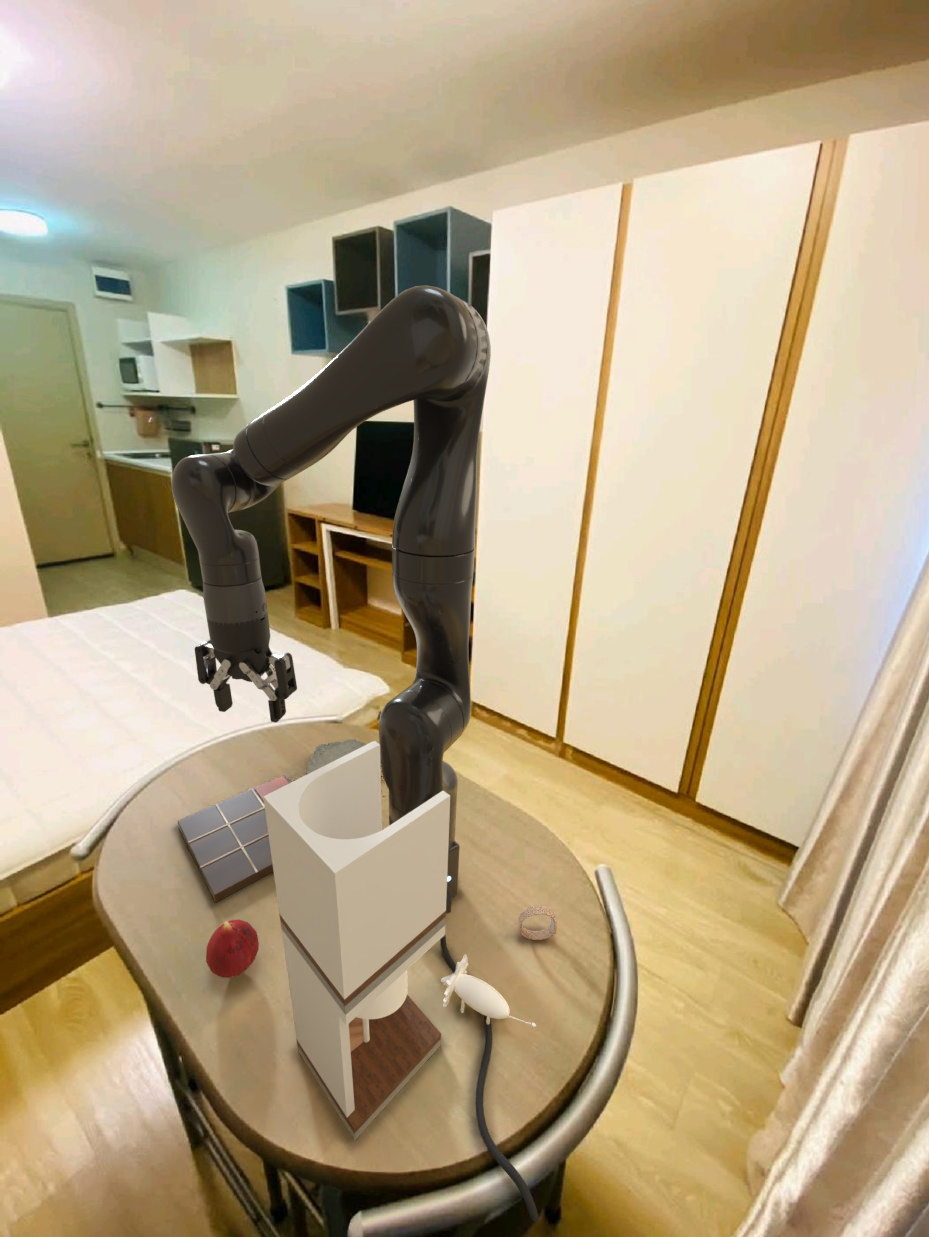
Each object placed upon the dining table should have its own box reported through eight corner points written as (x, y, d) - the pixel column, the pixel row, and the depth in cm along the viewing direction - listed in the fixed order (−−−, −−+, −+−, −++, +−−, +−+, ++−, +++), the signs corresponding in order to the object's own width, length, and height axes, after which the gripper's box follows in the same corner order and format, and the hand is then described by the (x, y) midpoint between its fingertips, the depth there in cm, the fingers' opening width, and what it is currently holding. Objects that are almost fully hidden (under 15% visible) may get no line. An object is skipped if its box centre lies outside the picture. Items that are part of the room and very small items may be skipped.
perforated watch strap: (554, 945, 69) (558, 918, 67) (518, 944, 69) (521, 918, 67) (551, 926, 71) (554, 900, 69) (516, 925, 71) (519, 899, 69)
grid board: (332, 839, 84) (331, 831, 83) (215, 903, 73) (213, 894, 72) (284, 781, 96) (283, 773, 95) (178, 827, 85) (176, 819, 84)
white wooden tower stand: (355, 1140, 50) (335, 873, 37) (297, 1050, 57) (263, 796, 43) (440, 1045, 58) (450, 795, 44) (381, 975, 64) (374, 740, 51)
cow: (430, 1007, 61) (431, 981, 59) (454, 969, 65) (455, 943, 64) (523, 1071, 56) (527, 1044, 54) (542, 1025, 60) (547, 998, 58)
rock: (282, 776, 97) (280, 755, 95) (349, 739, 109) (349, 720, 107) (322, 806, 90) (321, 784, 89) (389, 763, 102) (389, 743, 101)
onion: (267, 945, 67) (260, 901, 64) (252, 992, 62) (244, 946, 59) (221, 946, 67) (212, 901, 64) (202, 992, 62) (191, 947, 59)
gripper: (170, 613, 67) (191, 719, 73) (267, 628, 64) (280, 737, 70) (210, 594, 74) (226, 693, 80) (300, 607, 71) (309, 709, 77)
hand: (251, 714), depth 75 cm, fingers open, 8 cm apart
